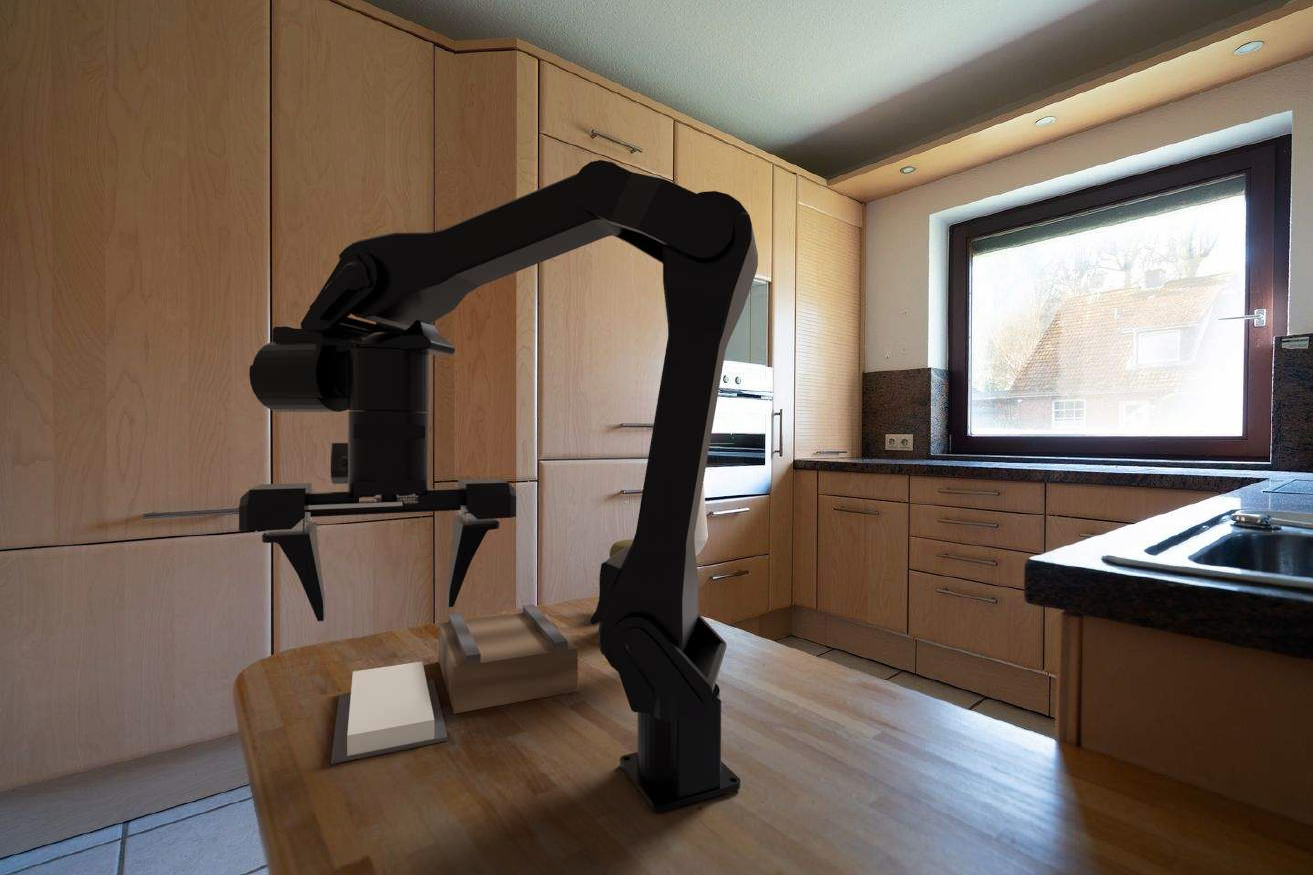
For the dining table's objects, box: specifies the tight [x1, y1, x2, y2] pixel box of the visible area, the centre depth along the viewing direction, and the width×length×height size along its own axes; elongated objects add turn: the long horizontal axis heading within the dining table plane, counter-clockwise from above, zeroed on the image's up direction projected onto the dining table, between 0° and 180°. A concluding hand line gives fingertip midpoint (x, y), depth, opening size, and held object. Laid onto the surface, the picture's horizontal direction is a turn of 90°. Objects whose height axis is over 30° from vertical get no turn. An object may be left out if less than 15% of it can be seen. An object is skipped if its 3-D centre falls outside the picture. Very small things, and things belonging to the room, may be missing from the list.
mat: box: [330, 679, 449, 765], centre depth 51 cm, size 12×8×1 cm, turn 25°
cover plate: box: [347, 661, 434, 756], centre depth 51 cm, size 13×6×2 cm, turn 25°
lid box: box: [438, 603, 579, 714], centre depth 60 cm, size 13×11×5 cm
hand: (388, 612), depth 47 cm, fingers open, 9 cm apart
